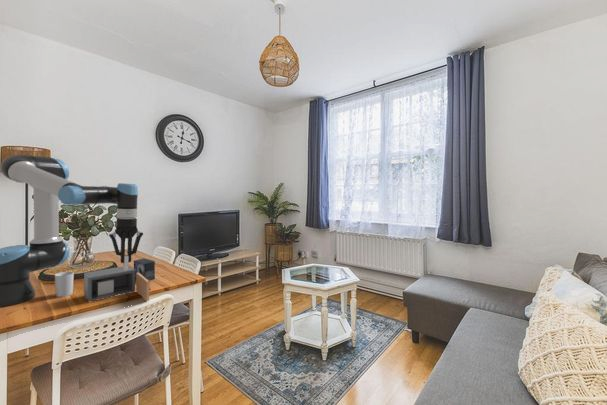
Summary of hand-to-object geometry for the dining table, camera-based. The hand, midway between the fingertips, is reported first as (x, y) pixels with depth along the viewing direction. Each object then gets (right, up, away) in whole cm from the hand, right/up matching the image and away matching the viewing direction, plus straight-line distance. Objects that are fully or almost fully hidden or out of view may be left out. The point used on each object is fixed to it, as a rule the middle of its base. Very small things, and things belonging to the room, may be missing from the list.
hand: (125, 269), depth 117 cm
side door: (+4, -14, +6) cm, 16 cm away
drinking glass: (-32, -13, +5) cm, 35 cm away
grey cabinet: (-13, -14, +8) cm, 20 cm away
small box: (-10, -13, +29) cm, 33 cm away
